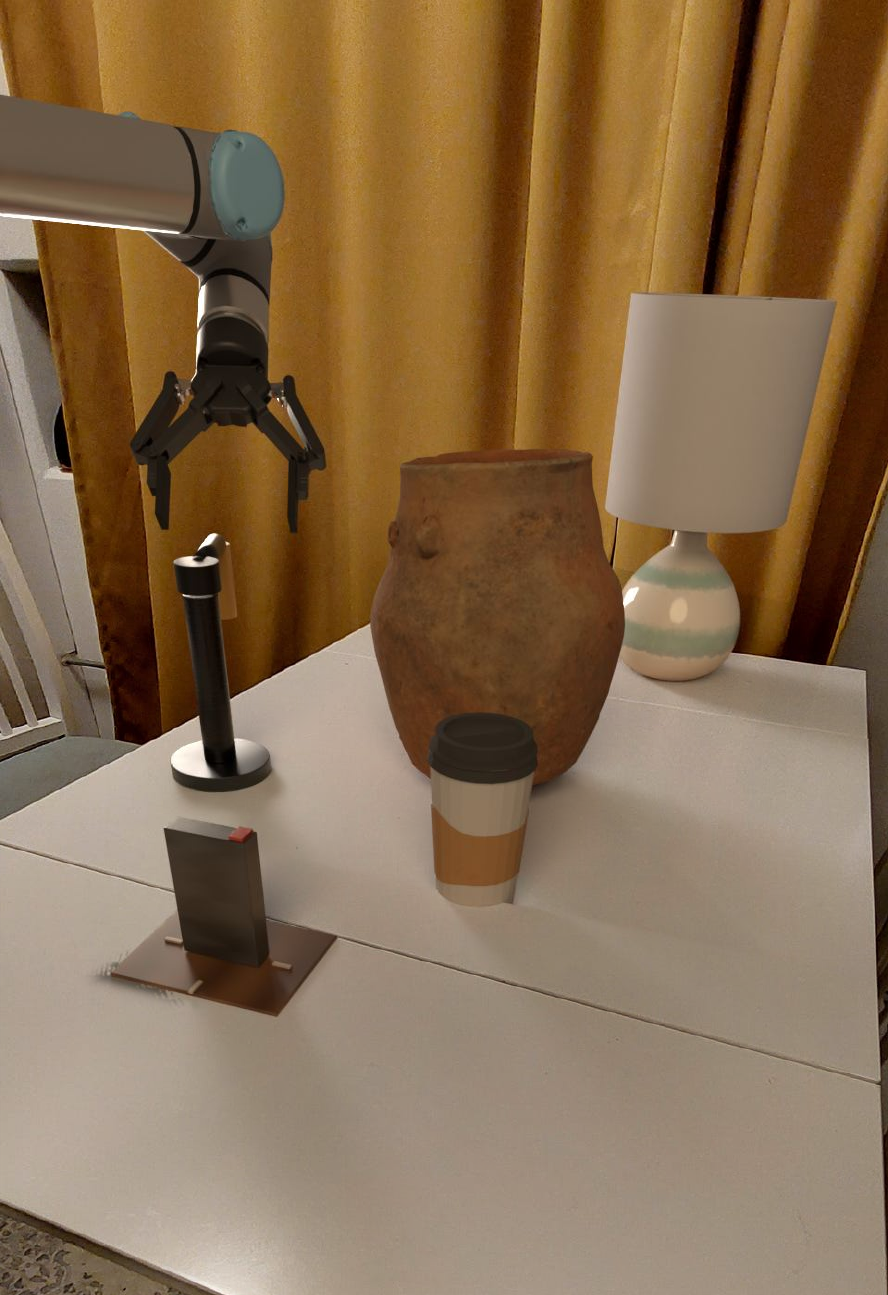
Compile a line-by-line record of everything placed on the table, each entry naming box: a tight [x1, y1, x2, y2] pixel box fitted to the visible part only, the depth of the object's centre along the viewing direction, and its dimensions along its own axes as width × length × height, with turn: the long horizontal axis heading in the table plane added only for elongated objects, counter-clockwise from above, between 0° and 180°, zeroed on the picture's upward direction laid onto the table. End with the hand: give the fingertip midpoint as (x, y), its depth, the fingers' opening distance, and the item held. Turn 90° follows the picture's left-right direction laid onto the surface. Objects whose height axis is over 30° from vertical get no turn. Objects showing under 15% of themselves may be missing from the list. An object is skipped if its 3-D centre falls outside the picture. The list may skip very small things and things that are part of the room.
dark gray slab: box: [163, 816, 270, 968], centre depth 65 cm, size 6×2×10 cm, turn 71°
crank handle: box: [173, 533, 238, 621], centre depth 91 cm, size 14×4×8 cm, turn 1°
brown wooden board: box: [109, 909, 338, 1018], centre depth 69 cm, size 13×10×2 cm
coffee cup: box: [427, 712, 538, 908], centre depth 74 cm, size 8×8×15 cm
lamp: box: [604, 292, 838, 682], centre depth 113 cm, size 22×22×40 cm
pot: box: [369, 448, 625, 786], centre depth 89 cm, size 24×24×30 cm
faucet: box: [169, 593, 272, 793], centre depth 92 cm, size 10×10×18 cm
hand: (227, 524), depth 98 cm, fingers open, 13 cm apart
